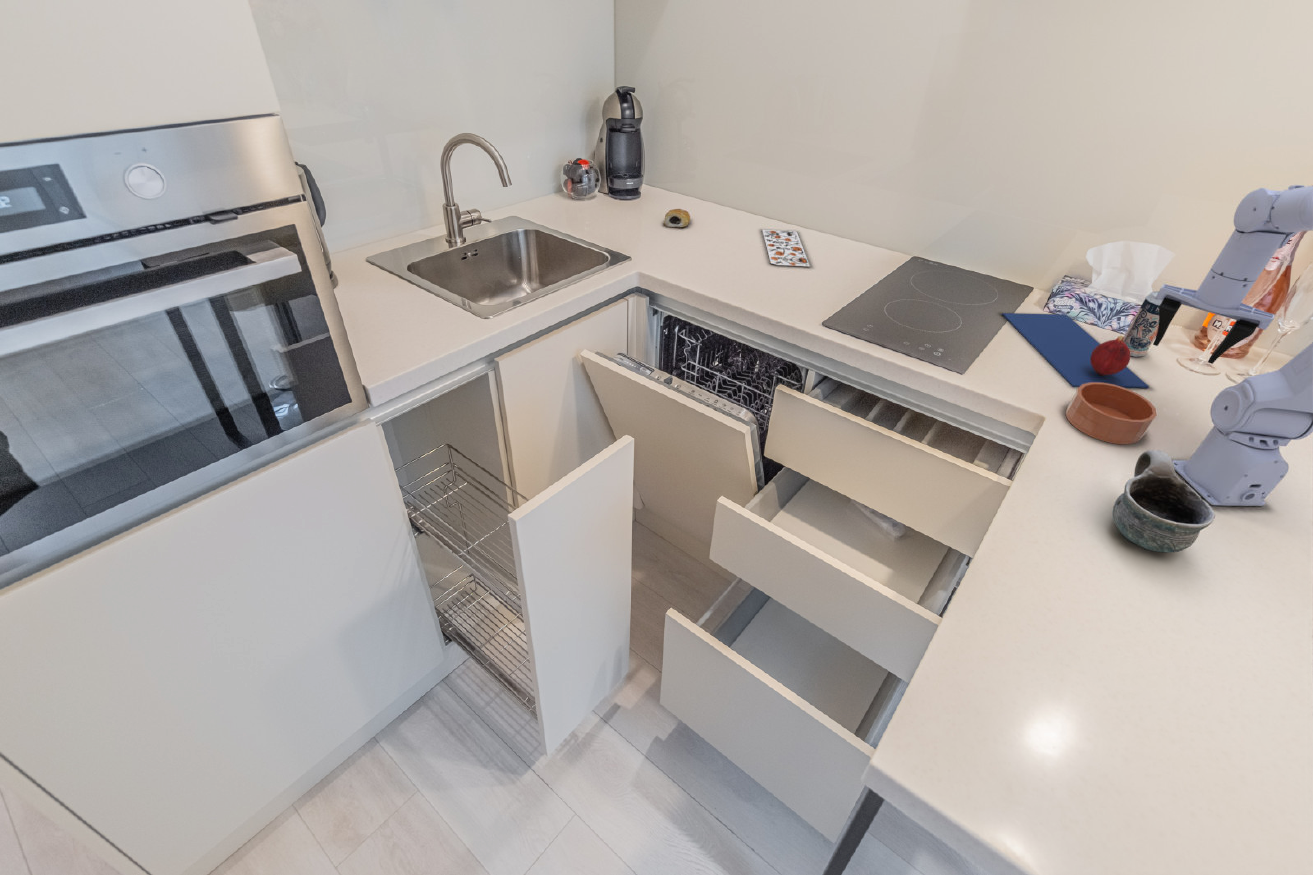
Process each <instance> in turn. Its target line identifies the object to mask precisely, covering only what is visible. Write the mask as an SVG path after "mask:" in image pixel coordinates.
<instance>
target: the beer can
mask: <svg viewBox="0 0 1313 875" xmlns="http://www.w3.org/2000/svg"><path fill="white" fill-rule="evenodd" d="M1158 292H1159V290H1157V291H1152V292H1150V293H1149V294H1147V295H1146V296H1145V298H1144V300H1143V302H1142V303H1141V305H1140V307H1139V309H1138V311H1137V313H1136V314H1135V316H1134V318H1133V320H1132V321H1131V323H1130V325H1129V327H1128V329H1126V332H1125V333H1124V335H1123V337H1124V339H1123V340H1124V343H1125V344H1126V345H1127V346H1128V348H1129V350H1130V357H1135V358H1136V357H1137V358H1138V357H1139V358H1140V357H1144V356H1146V355H1147V352H1148V350H1149V349H1150V347H1151V346H1152V345H1153V343H1154V341H1155V338H1156V335H1157V331H1158V326H1159V306H1160V304H1161V303H1162V301H1163V300H1160V299H1156V298H1155V297H1156V296H1157V294H1158Z"/></svg>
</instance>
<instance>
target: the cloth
mask: <svg viewBox="0 0 1313 875" xmlns="http://www.w3.org/2000/svg"><path fill="white" fill-rule="evenodd" d="M1002 316H1003V317H1004V319H1006V320H1007V322H1009V323H1010V324H1011V325H1012V326H1013V328H1014V329H1016V331H1018V333H1020V334H1021V335H1022V337H1023V338H1024V339H1025V340H1027V342H1028V343H1029V344H1030V345H1031V346H1032V347H1033V348H1034V349H1035V350H1036V351H1037V352H1038V353H1039V354H1040V355H1041V356H1042V357H1043V358H1044V359H1045V360H1046V361H1047V362H1048V363H1049V364H1050V365H1051V367H1053V368H1054V369H1055V370H1056V371H1057V372H1058V373H1059V374H1060V375H1061V376H1062V377H1063V378H1064V379H1065V380H1066V381H1067V383H1068V384H1070V385H1071V386H1072V388H1079V387H1080V386H1081V385H1082V384H1085V383H1090V382H1103V383H1108V384H1113V385H1117V386H1120V387H1123V388H1126V389H1149V388H1150V386H1149V384H1147V383H1146V382H1145V381H1143V379H1141V378H1140V377H1139V376H1138V375H1137V374H1136V373H1135V372H1134V371H1132V370H1131V369H1130V368H1129V367H1127V366H1126V367H1125V368H1124V369H1123V370H1122V371H1120V372H1118V373H1116V374H1111V375H1104V376H1100V375H1098V374H1097V372H1096V371H1095V370H1094V369H1093V367H1092V365H1091V362H1090V358H1091V354H1092V352H1093V350H1094V349H1095V348H1096V347H1097V346H1098V345H1100V344H1101V343H1100V342H1098V340H1096V339H1095V338H1094V337H1093V336H1092V335H1090V334H1089V333H1088V332H1087V331H1086V329H1084V328H1082V327H1081V326H1080V324H1078V323H1076V322H1075V321H1074V320H1073V319H1072V318H1071V317H1070V316H1069V315H1067V314H1060V313H1059V314H1057V313H1054V314H1053V313H1017V312H1016V313H1015V312H1014V313H1013V312H1012V313H1011V312H1003V313H1002Z"/></svg>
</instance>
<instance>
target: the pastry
mask: <svg viewBox="0 0 1313 875" xmlns="http://www.w3.org/2000/svg"><path fill="white" fill-rule="evenodd" d="M690 221H691V215H690V213H689V211H687V210H685V209H682V208H674V209H670V210H668V211H667V212H666V214H665V215H664V220H663V224H664V225H665V227H669V228H685V227H687V226H689V224H690Z"/></svg>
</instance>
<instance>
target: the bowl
mask: <svg viewBox="0 0 1313 875" xmlns="http://www.w3.org/2000/svg"><path fill="white" fill-rule="evenodd" d="M1065 416H1066V419H1067V420H1068V422H1069V423H1070V424H1071V425H1072V426H1073V427H1074V428H1075V429H1077V430H1078V431H1080V432H1082V433H1083V434H1085V435H1087V436H1089V437H1092V438H1093V439H1096V440H1098V441H1102V442H1106V443H1110V444H1115V445H1132V444H1135V443H1138V442H1139V441H1141V439H1142V438H1143V436H1145V434H1146V433H1147V431H1148V430H1149V428H1150V427H1151V425H1152V424H1153V422H1154V421H1155V419H1156V418H1157V416H1158V412H1157V408H1156V407H1155V406H1154V404H1153V403H1152V402H1151V401H1150V400H1148V399H1147V398H1145V396H1143V395H1141V394H1139V393H1137V392H1135V391H1133V390H1131V389H1130V388H1123V387H1120V386H1117V385H1113V384H1108V383H1103V382H1090V383H1085V384H1082V385H1081V386H1080V387H1077V388H1076V391H1075V392H1074V394H1073V396H1072V398H1071V400H1070V401H1069V403H1068V406H1067V408H1066V410H1065Z"/></svg>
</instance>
